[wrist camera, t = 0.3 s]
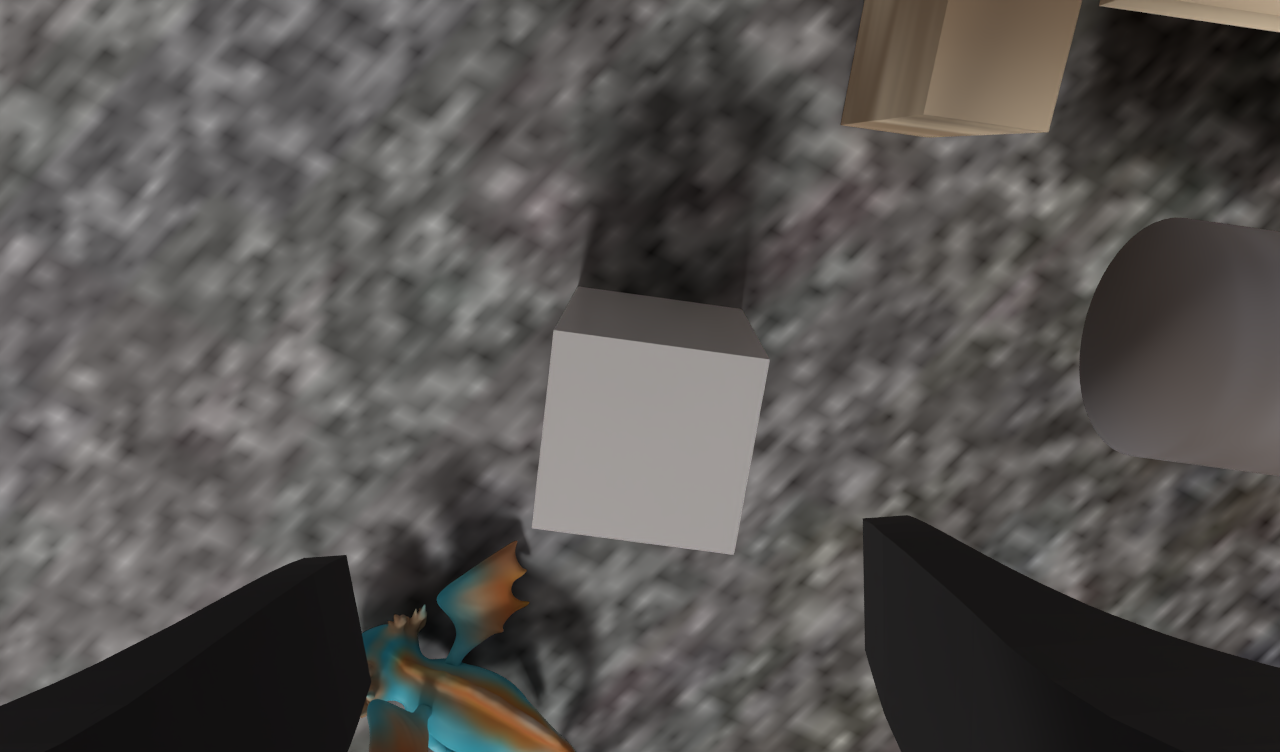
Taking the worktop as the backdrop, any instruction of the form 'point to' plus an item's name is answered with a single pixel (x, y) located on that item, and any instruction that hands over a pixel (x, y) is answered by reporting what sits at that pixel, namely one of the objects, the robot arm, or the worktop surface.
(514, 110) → the worktop surface
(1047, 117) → the trapdoor posts
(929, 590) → the robot arm
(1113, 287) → the trapdoor
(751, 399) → the grey rectangular block
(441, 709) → the dragon figurine
